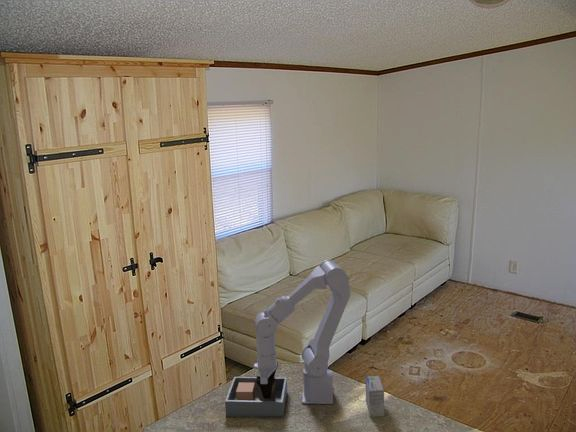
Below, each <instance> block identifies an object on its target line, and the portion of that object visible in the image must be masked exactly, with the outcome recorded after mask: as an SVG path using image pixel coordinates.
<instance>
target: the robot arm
mask: <svg viewBox="0 0 576 432" xmlns="http://www.w3.org/2000/svg"><path fill="white" fill-rule="evenodd" d="M328 288H329V289H330V292H331V295H330V297H329V300H328V302H327V305H326V307H325V310H324V313H323V315H322V317H321V320H320V322H319V325H318V327H317V330H316V332H315V335H314V336H313V338H312V339H310V340H309V342H308V344H307V345H306V346H305V347H304V348H303V350H302V351H301V359H302V360H303V362H304V366H303V370H302V372H303V373H302V375H303V391H302V398H301V399H302V400H301V403H302V404H312V405H314V404H316V405H317V404H319V405H333V404H334V394H335V388H334V380H333V379H334V378H333V377H334V374H333V370H332V369H329V359H330V346H331V343H332V341H333V338H334V336H335V334H336V331H337V329H338V326H339V324H340V322H341V319H342V316H343V314H344V312H345V309H346V307H347V305H348V302H349V301H350V297H351V290H350V277H349V276H348V274H347V272H346V271H345V270H344V269H343V268H341V267H340V266H339V264H338V263H337V262H336V261H334V260H333V259H325V260H323V261H322V262H320V264H319V265H317V266H315V267H314V268H313V270H312V271H311V273H310V274H309V275H308V276H307V277H305V279H304V280H303V281H302V282H301V283H299V285H297V287H296V288H294V290H293V291H292V292H291V293H289V294H288V295H282V296H280V297H276V298H275V299H274V302H273V303H272V305H270V306H269V307H268V308H267V309H264V310H262V312H259V313H258V314H257V315H256V316H255V318H254V320H253V324H254V326H255V329H256V333H255V336H256V339H255V343H256V344H255V345H256V357H257V358H256V360H257V361H256V363H254V364H253V369H255V370H257V371H258V374H259V375H257V376H256V377H257V378H256V382H257V384H258V385H259V387H260V389H261V392H262V395H263V398H264V399H270V398H271V392H272V386H273V384H274V381H275V378H274V377H275V376H276V371H277V369H278V367H279V363H278V362H277V351H276V349H277V348H276V337H275V334H276V331H277V327H279V325H280V324H281V323H283V321H285V320H286V319H287V318H288V317H290V315H292V314H293V313H294V312H295V309H296V305H297V304H298V303H300V302H301V301H302V300H303V299H305V298H306V297H308V295H310V294H311V293H312V292H314V291H315V290H316V289H317V290H318V289H319V290H320V289H321V290H328Z"/></svg>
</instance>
